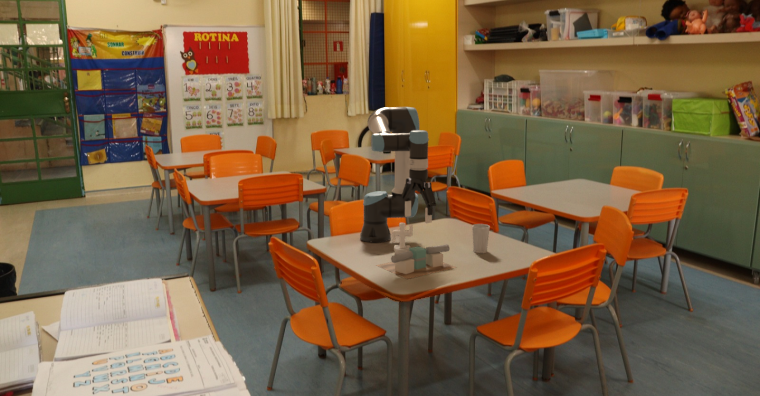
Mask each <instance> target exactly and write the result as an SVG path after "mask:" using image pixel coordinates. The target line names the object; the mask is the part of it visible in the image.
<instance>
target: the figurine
mask: <svg viewBox="0 0 760 396" xmlns="http://www.w3.org/2000/svg"><path fill="white" fill-rule="evenodd" d="M406 224H407V223H405V222H399V224H398V227H399V229H393V230H392V232H391V242H392V243H395V242H396V237H399V244H394V246H393V251H394V253H395V255H397V254H400V253H404V252H407V251H409V248H411V245H409V244H406V237H412V236H413V234H414V233H413V232H414V230H413V229H414V225H413V224H412V223H411V224H409V226H408V228H409V229H408V230H407V229H406Z"/></svg>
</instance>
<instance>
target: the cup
mask: <svg viewBox="0 0 760 396" xmlns="http://www.w3.org/2000/svg"><path fill="white" fill-rule="evenodd" d="M471 228H472V231H471V232H472V246H473V247H472V248H473V249H472V252H473V253H477V254H485V253H486V254H487V253H488V244H489V238H490V237H489V235H490V228H491V226H490V225H488V224H484V223H476V224H472V225H471Z"/></svg>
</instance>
